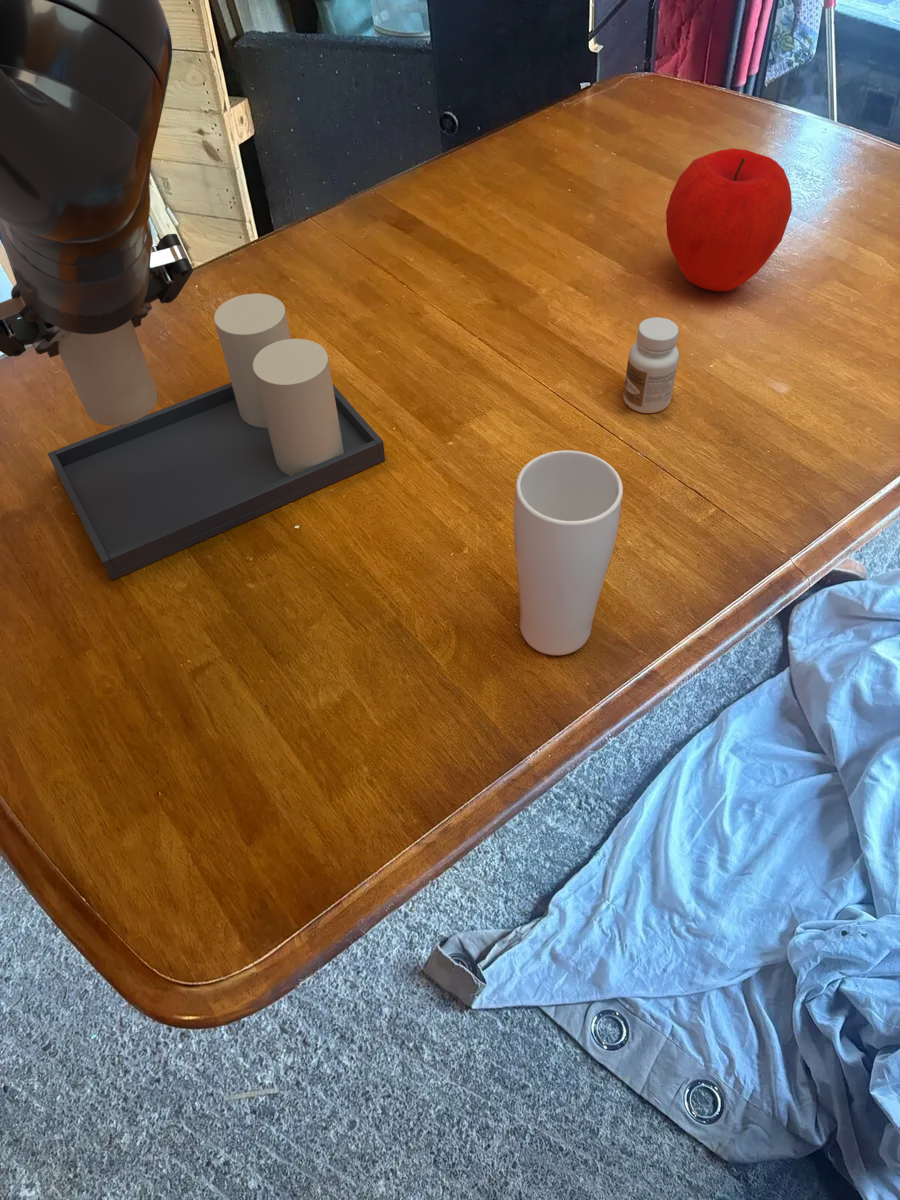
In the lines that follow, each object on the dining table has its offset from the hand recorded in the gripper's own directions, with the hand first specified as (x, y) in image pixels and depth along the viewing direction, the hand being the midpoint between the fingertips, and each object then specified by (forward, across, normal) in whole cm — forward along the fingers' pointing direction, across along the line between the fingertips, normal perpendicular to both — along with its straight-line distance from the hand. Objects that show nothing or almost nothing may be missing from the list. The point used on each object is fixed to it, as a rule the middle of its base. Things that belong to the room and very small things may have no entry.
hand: (88, 328), depth 65 cm
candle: (+3, 0, +5) cm, 6 cm away
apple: (+9, -61, +14) cm, 63 cm away
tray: (+11, -6, +12) cm, 17 cm away
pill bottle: (+1, -43, +22) cm, 48 cm away
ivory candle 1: (+13, -13, +9) cm, 20 cm away
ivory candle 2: (+8, -13, +14) cm, 21 cm away
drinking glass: (-11, -20, +34) cm, 41 cm away
